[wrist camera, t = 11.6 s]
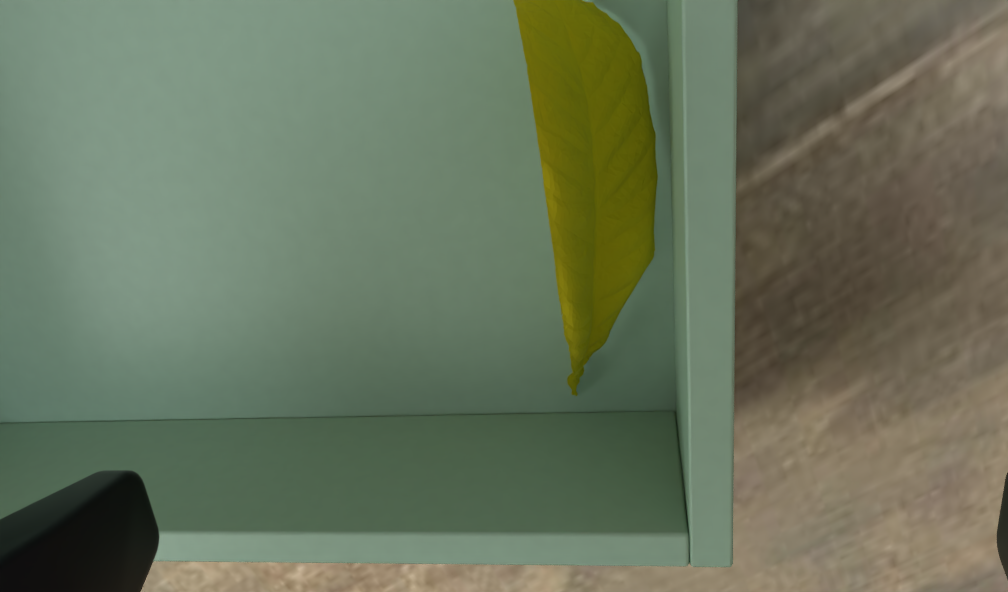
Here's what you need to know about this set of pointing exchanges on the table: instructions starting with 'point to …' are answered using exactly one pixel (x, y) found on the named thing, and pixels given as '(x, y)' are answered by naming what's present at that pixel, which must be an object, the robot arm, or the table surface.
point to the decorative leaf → (591, 162)
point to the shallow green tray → (355, 285)
